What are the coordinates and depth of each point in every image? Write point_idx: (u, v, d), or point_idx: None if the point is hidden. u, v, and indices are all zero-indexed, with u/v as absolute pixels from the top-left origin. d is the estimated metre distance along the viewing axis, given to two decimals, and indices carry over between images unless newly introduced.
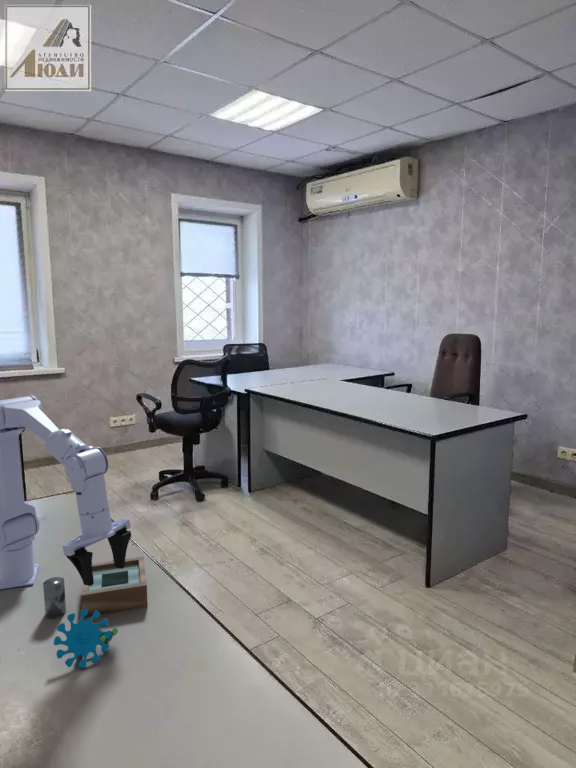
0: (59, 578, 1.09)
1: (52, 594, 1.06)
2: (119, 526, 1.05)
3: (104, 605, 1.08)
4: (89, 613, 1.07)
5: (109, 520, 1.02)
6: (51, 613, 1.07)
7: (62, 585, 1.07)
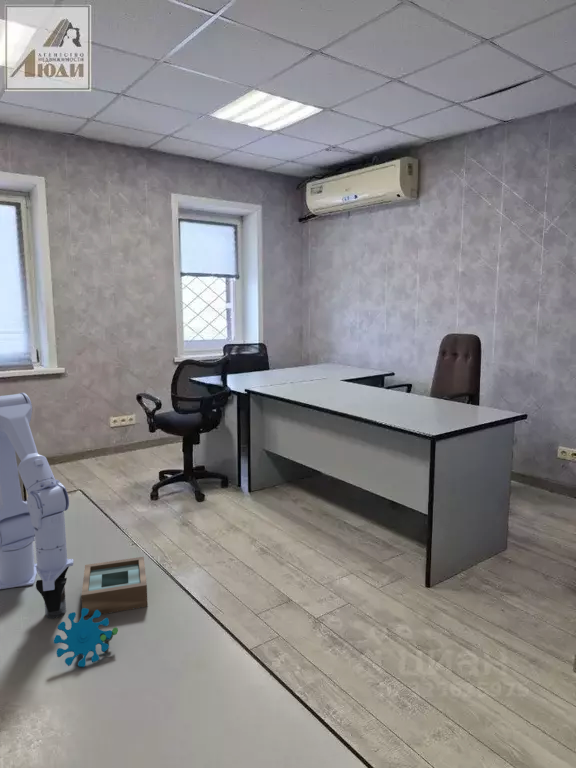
0: (59, 578, 1.09)
1: None
2: None
3: (104, 605, 1.08)
4: (89, 613, 1.07)
5: None
6: (51, 613, 1.07)
7: None
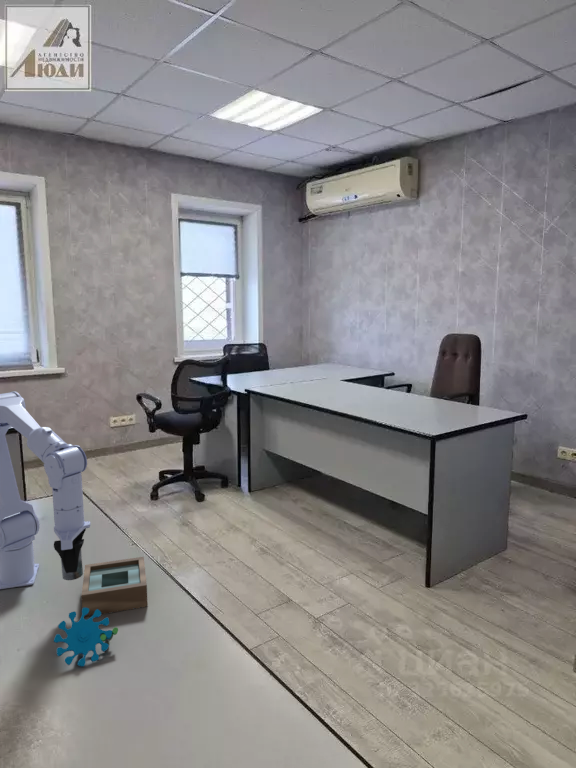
0: None
1: None
2: None
3: (104, 605, 1.08)
4: (89, 613, 1.07)
5: None
6: (69, 575, 1.07)
7: None
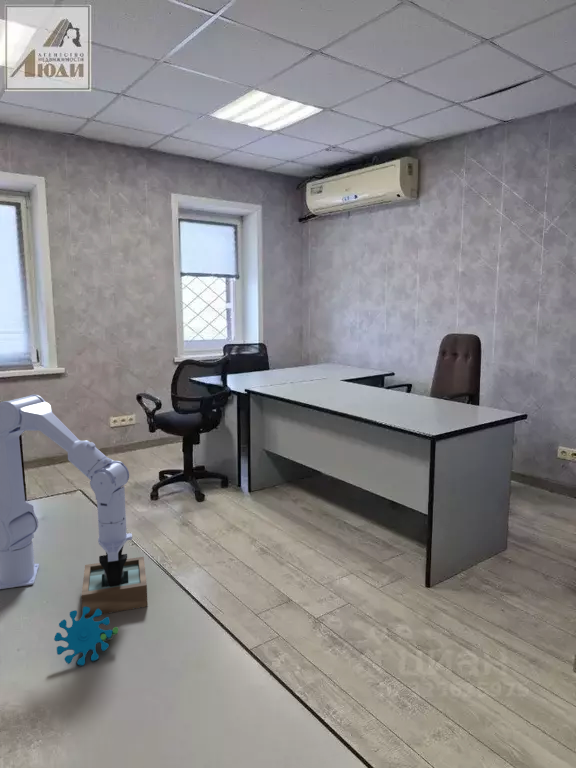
0: None
1: None
2: None
3: (104, 605, 1.08)
4: (89, 613, 1.07)
5: None
6: None
7: None
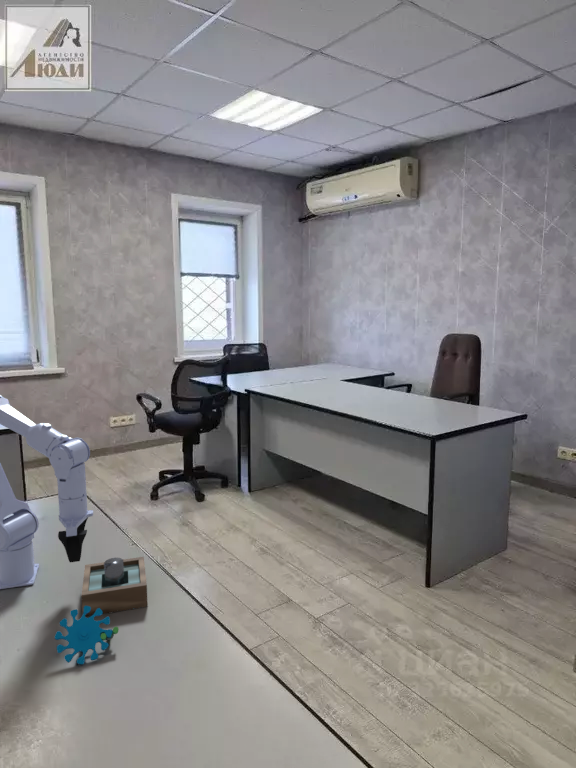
0: (118, 558, 1.15)
1: (114, 573, 1.12)
2: None
3: (104, 605, 1.08)
4: (89, 613, 1.07)
5: None
6: None
7: (122, 565, 1.14)
